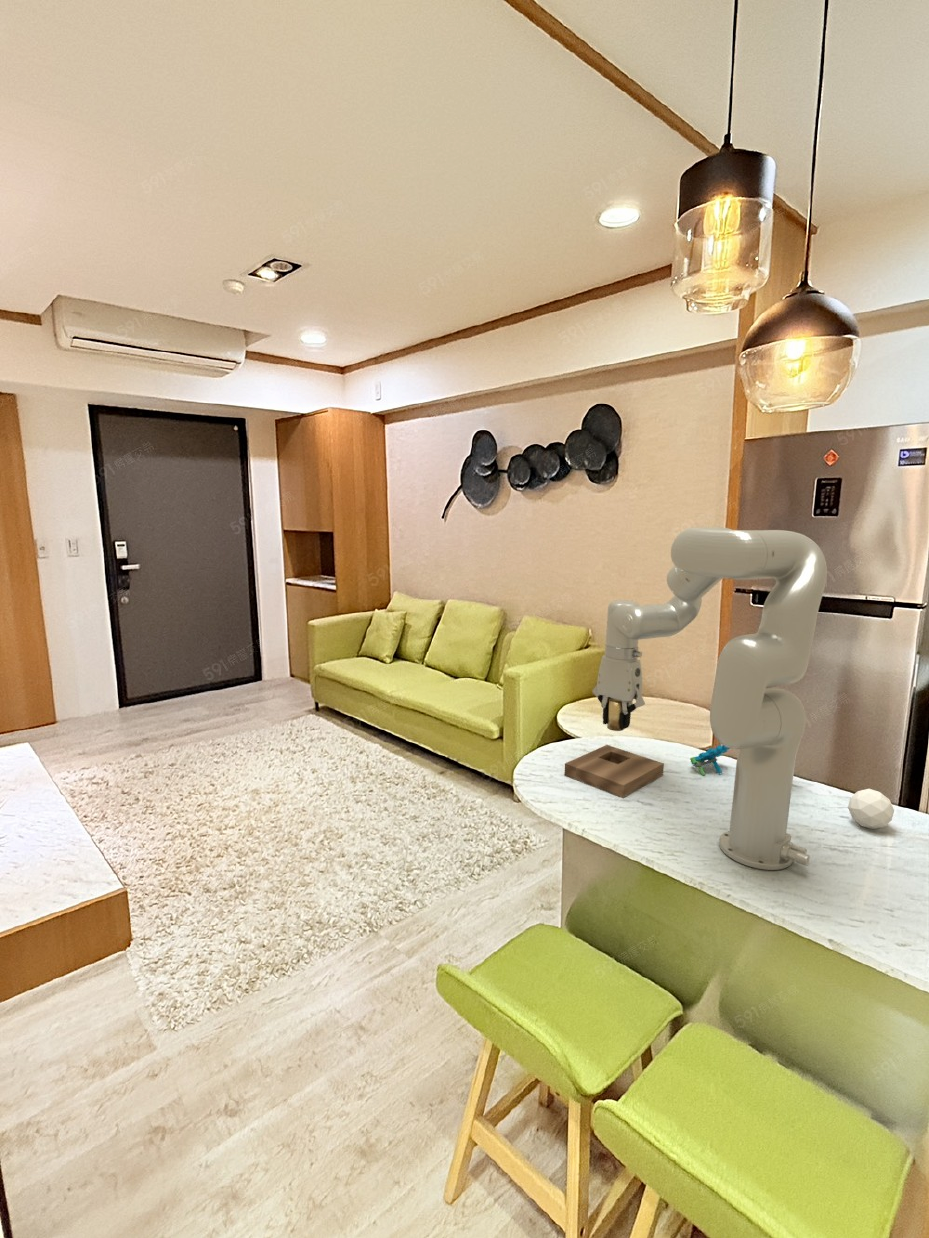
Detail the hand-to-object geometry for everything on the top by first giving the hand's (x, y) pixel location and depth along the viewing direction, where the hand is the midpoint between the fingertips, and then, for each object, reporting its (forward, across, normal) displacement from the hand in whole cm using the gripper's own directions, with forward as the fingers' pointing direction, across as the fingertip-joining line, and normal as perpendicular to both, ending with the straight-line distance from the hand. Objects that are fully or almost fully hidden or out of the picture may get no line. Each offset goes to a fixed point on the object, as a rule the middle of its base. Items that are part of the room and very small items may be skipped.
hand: (615, 724), depth 152 cm
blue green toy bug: (+12, -16, -18) cm, 26 cm away
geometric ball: (+11, -51, -15) cm, 55 cm away
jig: (+11, -2, +3) cm, 12 cm away
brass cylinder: (+1, 0, 0) cm, 1 cm away
